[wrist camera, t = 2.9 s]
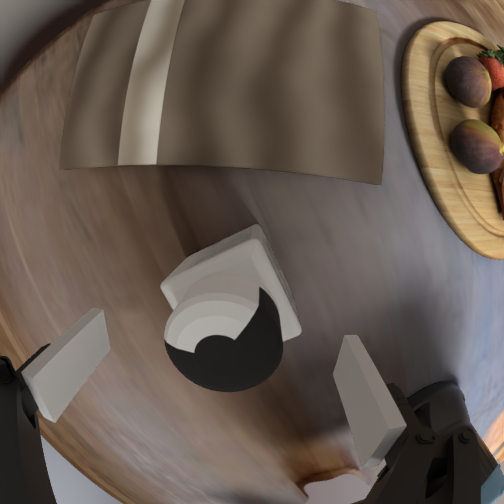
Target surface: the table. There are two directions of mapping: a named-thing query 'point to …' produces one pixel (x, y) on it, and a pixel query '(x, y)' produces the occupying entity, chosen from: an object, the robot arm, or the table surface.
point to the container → (229, 313)
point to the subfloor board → (230, 88)
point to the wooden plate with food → (459, 128)
